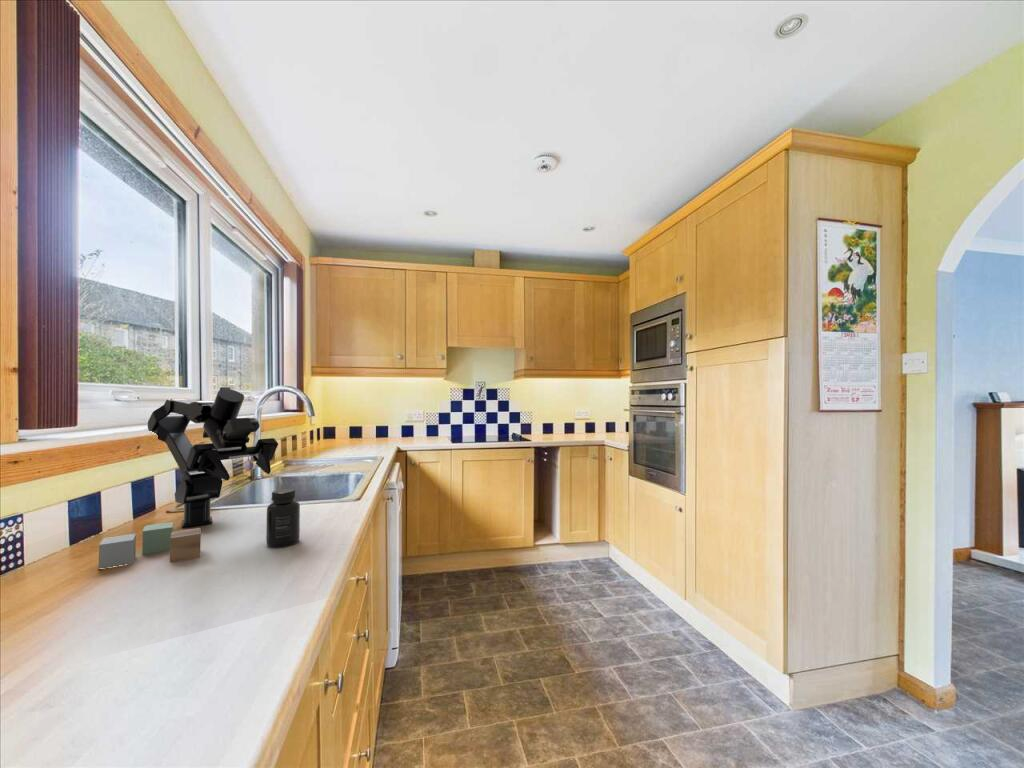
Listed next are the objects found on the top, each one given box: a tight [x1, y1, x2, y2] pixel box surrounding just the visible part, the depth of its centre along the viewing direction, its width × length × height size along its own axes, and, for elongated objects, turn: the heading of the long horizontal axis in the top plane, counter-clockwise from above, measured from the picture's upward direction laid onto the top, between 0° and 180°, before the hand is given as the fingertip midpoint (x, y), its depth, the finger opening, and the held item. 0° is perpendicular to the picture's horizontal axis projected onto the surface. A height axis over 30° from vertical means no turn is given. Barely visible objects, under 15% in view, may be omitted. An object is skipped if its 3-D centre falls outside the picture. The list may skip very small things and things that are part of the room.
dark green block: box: [141, 521, 174, 555], centre depth 95 cm, size 5×5×5 cm
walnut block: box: [169, 527, 202, 563], centre depth 91 cm, size 5×5×5 cm
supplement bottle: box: [265, 488, 301, 548], centre depth 99 cm, size 7×7×12 cm
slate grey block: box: [98, 533, 137, 569], centre depth 87 cm, size 5×5×5 cm
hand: (249, 475), depth 101 cm, fingers open, 9 cm apart
